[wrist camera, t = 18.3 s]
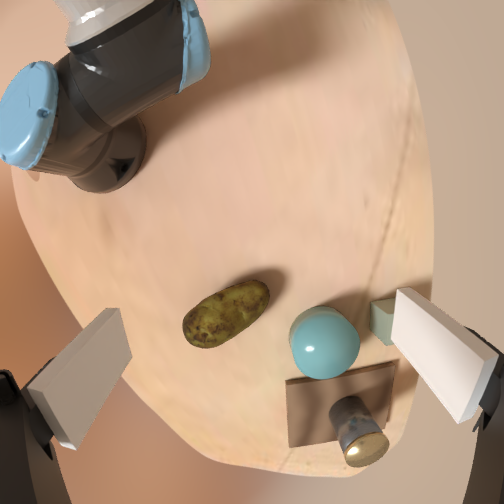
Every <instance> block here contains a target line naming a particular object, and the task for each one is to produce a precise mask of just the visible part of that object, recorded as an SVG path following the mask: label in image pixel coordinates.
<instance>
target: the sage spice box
mask: <svg viewBox="0 0 504 504" xmlns="http://www.w3.org/2000/svg"><path fill="white" fill-rule="evenodd" d="M395 302H396V298H390V299H384V300H379V301H372V302H370V330H371V331H372V332H373V333H374V334H375V335H376V336H377V337H378V338H379V339H380V340H381V341H382V342H383V343H384V344H385V345H386V346H388V345H392V344H394V343H393V342H392V340H391V333H392V326H393V319H394V311H395Z"/></svg>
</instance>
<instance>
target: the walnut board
mask: <svg viewBox="0 0 504 504" xmlns="http://www.w3.org/2000/svg"><path fill="white" fill-rule="evenodd" d="M394 372H395V364H394V363H393V362H389V363H385V364H380V365H376V366H371V367H367V368H362V369H357V370H352V371H347V372H343V373H342V374H340V375H338V376H336V377H333V378H329V379H314V378H304V379H296V380H288V381H285V383H286V401H287V420H288V442H289V448H292V447H300V446H307V445H313V444H319V443H325V442H331V441H336V440H338V439H337V436H336V434H335V431H334V429H333V426H332V424H331V421H330V419H329V411H330V408H331V407H332V406H333V404H334V403H336V402H337V401H338V400H340V399H342V398H344V397H347V396H357V397H360V398H361V399H362V400H363V402H364V403H365V405H366V406H367V408H368V410H369V411H370V413H371V414H372V416H373V418H374V419H375V421H376V422H377V424H378V426H379V427H380V429H381V430H382V429H385V426H386V421H387V416H388V410H389V405H390V399H391V393H392V387H393V380H394Z"/></svg>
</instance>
